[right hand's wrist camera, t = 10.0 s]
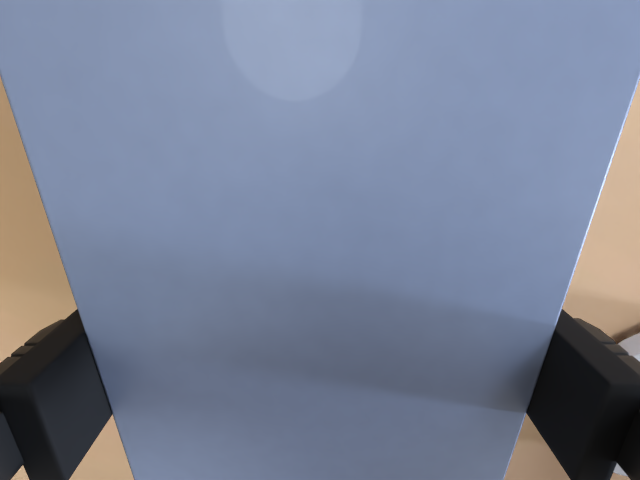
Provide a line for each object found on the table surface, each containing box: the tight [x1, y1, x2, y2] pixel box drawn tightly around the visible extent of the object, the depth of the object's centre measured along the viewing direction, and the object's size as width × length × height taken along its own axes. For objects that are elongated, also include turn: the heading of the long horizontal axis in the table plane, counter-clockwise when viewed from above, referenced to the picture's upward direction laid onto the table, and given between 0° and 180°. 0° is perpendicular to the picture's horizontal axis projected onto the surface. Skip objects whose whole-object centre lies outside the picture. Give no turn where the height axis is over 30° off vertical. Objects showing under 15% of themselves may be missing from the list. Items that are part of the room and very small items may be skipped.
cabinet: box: [0, 0, 640, 480], centre depth 10 cm, size 20×11×9 cm, turn 0°
